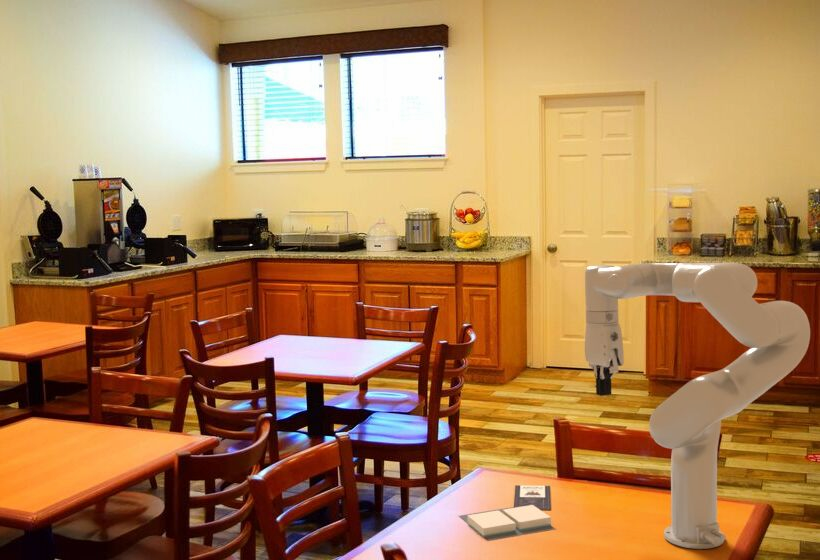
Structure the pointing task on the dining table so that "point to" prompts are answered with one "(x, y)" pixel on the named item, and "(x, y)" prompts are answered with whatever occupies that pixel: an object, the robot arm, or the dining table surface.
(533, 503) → the chocolate bar
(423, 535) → the dining table surface
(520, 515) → the tile
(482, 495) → the dining table surface
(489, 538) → the mat
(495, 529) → the tile
